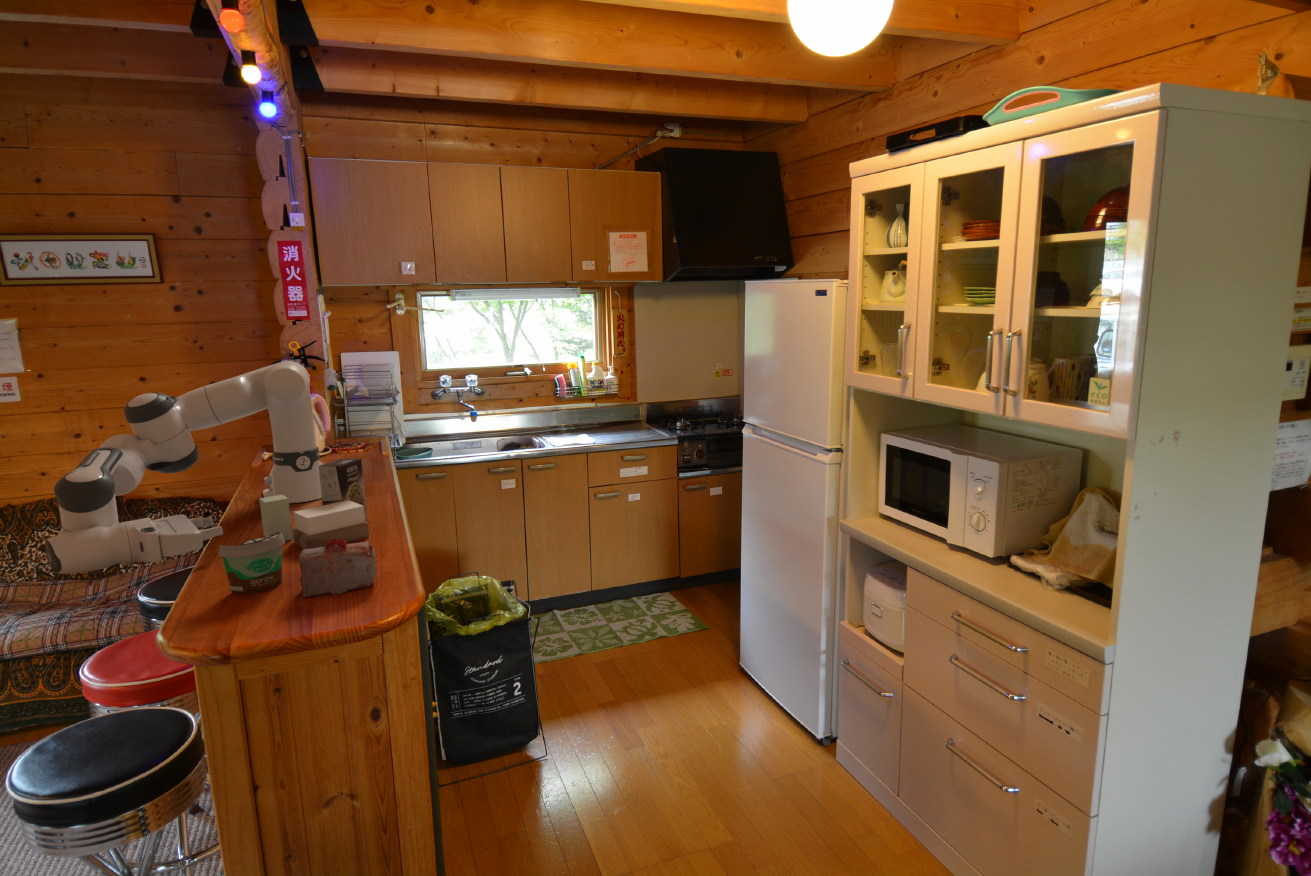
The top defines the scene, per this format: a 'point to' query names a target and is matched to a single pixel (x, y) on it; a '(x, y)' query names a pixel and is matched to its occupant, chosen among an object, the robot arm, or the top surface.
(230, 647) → the top surface
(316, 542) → the walnut slab
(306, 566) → the food item
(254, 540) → the food container
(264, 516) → the green block
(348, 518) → the white slab
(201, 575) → the top surface
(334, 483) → the coffee box
